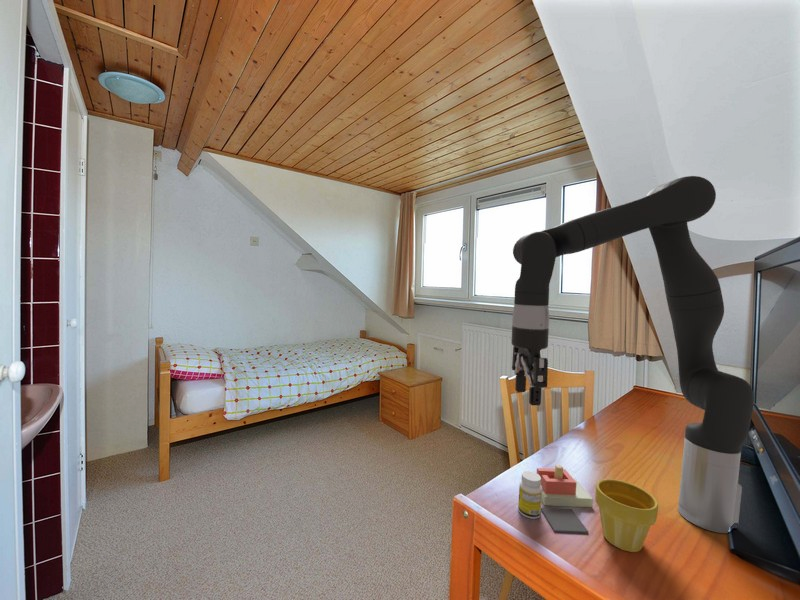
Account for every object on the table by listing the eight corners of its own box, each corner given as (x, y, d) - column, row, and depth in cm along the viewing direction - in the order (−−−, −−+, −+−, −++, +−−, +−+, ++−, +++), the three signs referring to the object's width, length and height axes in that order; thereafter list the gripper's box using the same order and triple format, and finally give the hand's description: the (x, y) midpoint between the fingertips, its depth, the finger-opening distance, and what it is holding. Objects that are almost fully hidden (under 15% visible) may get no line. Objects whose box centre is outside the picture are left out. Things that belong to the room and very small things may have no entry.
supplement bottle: (522, 502, 81) (524, 467, 80) (543, 511, 78) (546, 475, 77) (514, 512, 77) (517, 476, 76) (536, 522, 74) (539, 484, 73)
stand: (574, 486, 88) (576, 459, 87) (592, 507, 80) (594, 477, 79) (531, 484, 88) (533, 457, 87) (544, 505, 80) (546, 475, 79)
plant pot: (629, 521, 75) (633, 478, 75) (667, 560, 65) (672, 510, 64) (582, 521, 75) (585, 477, 74) (613, 560, 65) (617, 509, 64)
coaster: (571, 510, 78) (571, 508, 78) (588, 533, 71) (588, 531, 71) (540, 509, 78) (540, 507, 78) (554, 532, 71) (554, 530, 71)
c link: (564, 480, 86) (565, 469, 86) (575, 494, 81) (576, 482, 81) (536, 479, 86) (536, 468, 86) (545, 493, 81) (546, 481, 81)
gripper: (562, 330, 69) (558, 410, 70) (534, 321, 83) (531, 388, 84) (525, 329, 69) (521, 409, 70) (503, 321, 83) (500, 387, 84)
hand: (527, 397), depth 77 cm, fingers open, 8 cm apart
